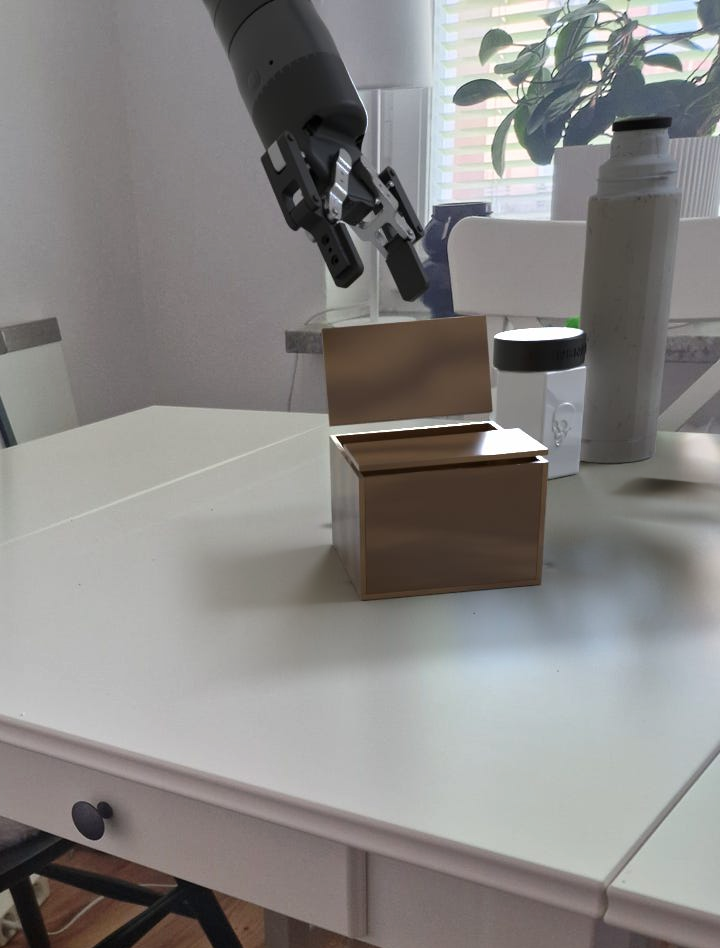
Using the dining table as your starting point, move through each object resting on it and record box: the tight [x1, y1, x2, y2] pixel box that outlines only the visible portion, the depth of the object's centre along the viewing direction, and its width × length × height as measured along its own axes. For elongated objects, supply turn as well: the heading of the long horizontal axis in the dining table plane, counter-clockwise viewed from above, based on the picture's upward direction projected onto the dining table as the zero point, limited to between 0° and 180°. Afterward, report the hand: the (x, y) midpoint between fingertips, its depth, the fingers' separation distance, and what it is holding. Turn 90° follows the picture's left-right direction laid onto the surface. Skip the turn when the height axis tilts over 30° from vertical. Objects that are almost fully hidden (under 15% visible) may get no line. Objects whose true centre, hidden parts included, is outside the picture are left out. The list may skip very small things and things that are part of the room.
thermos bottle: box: [579, 115, 683, 464], centre depth 107 cm, size 8×8×28 cm
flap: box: [320, 314, 493, 428], centre depth 89 cm, size 7×13×1 cm
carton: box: [328, 420, 549, 601], centre depth 86 cm, size 15×13×9 cm
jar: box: [489, 327, 587, 481], centre depth 107 cm, size 9×8×12 cm
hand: (386, 288), depth 84 cm, fingers open, 8 cm apart
